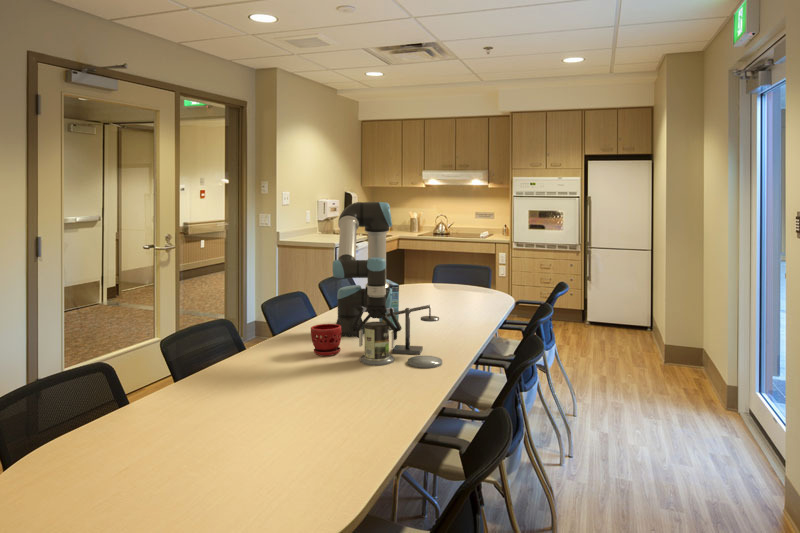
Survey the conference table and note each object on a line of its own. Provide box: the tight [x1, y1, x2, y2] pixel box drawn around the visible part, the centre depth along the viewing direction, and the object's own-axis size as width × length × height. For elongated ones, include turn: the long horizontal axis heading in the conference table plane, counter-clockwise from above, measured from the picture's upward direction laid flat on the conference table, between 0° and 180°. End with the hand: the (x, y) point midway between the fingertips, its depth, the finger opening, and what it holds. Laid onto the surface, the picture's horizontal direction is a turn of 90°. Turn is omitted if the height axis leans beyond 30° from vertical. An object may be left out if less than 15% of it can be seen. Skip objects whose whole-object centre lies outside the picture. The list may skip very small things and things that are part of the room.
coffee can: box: [363, 321, 390, 361], centre depth 240 cm, size 10×10×14 cm
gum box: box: [378, 278, 400, 328], centre depth 304 cm, size 20×5×23 cm, turn 18°
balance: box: [381, 304, 440, 356], centre depth 253 cm, size 27×8×21 cm, turn 79°
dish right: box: [407, 355, 443, 369], centre depth 237 cm, size 14×14×1 cm
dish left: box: [359, 354, 395, 367], centre depth 241 cm, size 14×14×1 cm
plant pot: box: [310, 323, 342, 357], centre depth 251 cm, size 13×13×12 cm
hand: (376, 346), depth 240 cm, fingers open, 13 cm apart
